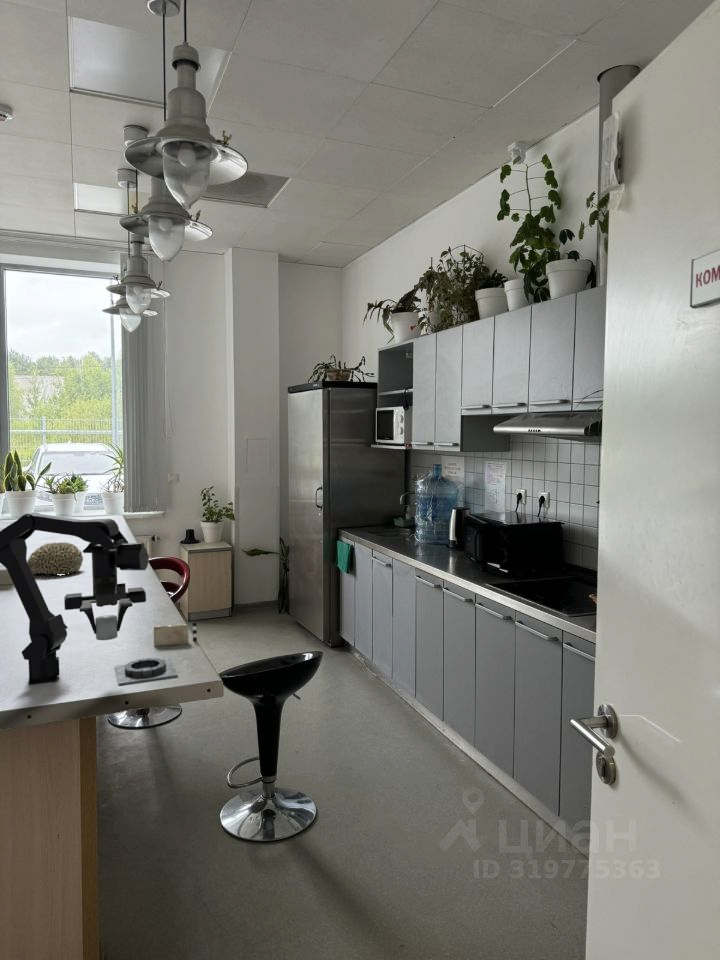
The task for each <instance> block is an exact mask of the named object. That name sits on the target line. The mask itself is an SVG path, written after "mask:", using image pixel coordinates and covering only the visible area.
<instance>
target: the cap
mask: <svg viewBox="0 0 720 960" xmlns="http://www.w3.org/2000/svg"><path fill="white" fill-rule="evenodd" d="M117 617H118V615H114V614H104V615H100V616H96V617H94V619H95V625H96V634H95V639H96V640H98V641H109V640H115V639H117V638H118V637H119V636H118V631H117Z"/></svg>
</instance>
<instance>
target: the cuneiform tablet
mask: <svg viewBox="0 0 720 960" xmlns="http://www.w3.org/2000/svg"><path fill="white" fill-rule="evenodd" d="M197 631H198V629H197V621H196V622H195V621H194V622H192V642H197V638H198V637H197V635H198V633H197ZM189 637H190V635H189V625H188V624H187V623H186V624H175V625H174V624H171V625H155V626H153V645H154V646H153V647H160V646H177V645H179V646H181V645H182V646H183V645H188V644H189V643H190V642H189V641H190V639H189Z"/></svg>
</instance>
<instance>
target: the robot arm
mask: <svg viewBox="0 0 720 960" xmlns="http://www.w3.org/2000/svg"><path fill="white" fill-rule="evenodd" d="M36 531H39V532H46V533H53V534H58V535H59V534H60V535H67V536H71V537H72V536H73V537H77V538H79V539H81V540H82V541H84V542H87V543H88V545H87V546H86V547H85V548H84V549H83V550H82V553H83V554H91V568H92V570H91V573H92V594H91V595H83V594H82V592H77V593H67V594H65V596H64V611H65V610H66V611H69V610H79V612H80V613H82V612H83V613H84V614H85V615H86V617H87V619H88V620H89V624H90V626H91V629H92V632H93V633H94V635H96V621H95V615H94V610H93V609H94V608H93V605H92V604H96V606H97V607H99V608H103V607H104V606H117V605H118V607H117V632H119V631H120V630H121V627H122V624H123V620H124V616H125V615H126V612H127V611H128V609H129V607H130V608H131V607H133V605H134V604H137V603H138V604H139V603H146V602H147V593H146V591H145V589H144V588H143V587H129V588H127V590H126V583H118V569H119V570H120V571H146V570H147V568H148V566H149V559H150V558H149V555H150V554H149V553H148V550H147V548H146V547H145V546H146V545H145V542H136V543H133V542H132V543H129V541H128V540H127V538H126V537H125V536H124V534H123V533H122V532H121V531H120V526H119V525H118V523H117V522H116V520H114V519H112V518H95V519H77V518H71V517H70V518H69V517H64V516H55V515H51V514H49V515H48V514H43V513H39V512H37V511H36V512H29V513H24V514H23V515H22V516H21V517H19V518H18V519H17V520H15V521H13V522H12V523H11V524H9V525H7V526H5V527H4V528H2V529H1V530H0V564H1V565H2V566H4V568H5V569H6V571H7V573H8V576H9V578H10V580H11V582H12V584H13V586H14V589H15V591H16V594H17V595H18V597H19V600H20V602H21V605H22V606H23V609H24V610H25V613H26V615H27V617H28V620H29V621H28V622H29V623H28V624H29V625H28V635H29V639H30V643H28V645H27V646H25V648H24V649H23V650H22V651H21V655H22V657H23V659H24V660H25V661H27V660H28V681H27V683H28V685H33V684H39V683H47V682H54V681H58V677H59V676H60V657H59V656H57V651H59V650H60V649H61V646H62V644H64V642H65V641H66V638H67V637H68V632H67V631H68V630H67V629H68V627H69V626H67V624H65V622H64V618H63V616H62V614H61V613H60V614H57V615H55V614H54V613H53V612H51V611H50V609H49V607H48V605H47V603H46V601H45V599H44V596H43V594H42V592H41V590H40V587H39V585H38V583H37V580H36V578H35V575H33V574H32V571H31V569H30V567H29V565H28V563H27V562H28V559H27V554H28V546H27V543H26V541H27V539H29V538H30V537H31V536H32V535H33V533H35V532H36Z"/></svg>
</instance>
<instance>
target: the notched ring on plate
mask: <svg viewBox="0 0 720 960" xmlns="http://www.w3.org/2000/svg"><path fill="white" fill-rule="evenodd" d="M114 670H115V673H116V678H117V683H118V686H124V685H131V684H139V683H143V682H152V681H159V680H164V679H171V678H177V677H179V676H178V672H177V671H176V669H175V666H174V665H173V663H172V661H171V658H164V659H162V658H161V659H160V658H155V657H154V658H153V657H152V658H151V657H149V658H141V659H140V658H139V659H135V660H133V661H129V662H127V663H126V664H119V665H114Z"/></svg>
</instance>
